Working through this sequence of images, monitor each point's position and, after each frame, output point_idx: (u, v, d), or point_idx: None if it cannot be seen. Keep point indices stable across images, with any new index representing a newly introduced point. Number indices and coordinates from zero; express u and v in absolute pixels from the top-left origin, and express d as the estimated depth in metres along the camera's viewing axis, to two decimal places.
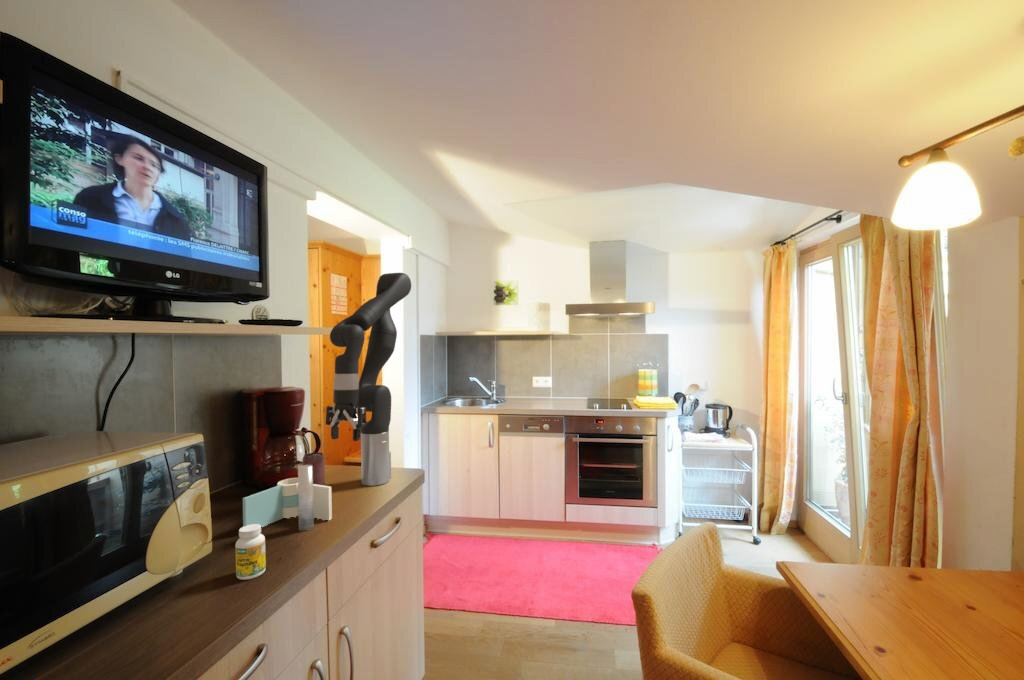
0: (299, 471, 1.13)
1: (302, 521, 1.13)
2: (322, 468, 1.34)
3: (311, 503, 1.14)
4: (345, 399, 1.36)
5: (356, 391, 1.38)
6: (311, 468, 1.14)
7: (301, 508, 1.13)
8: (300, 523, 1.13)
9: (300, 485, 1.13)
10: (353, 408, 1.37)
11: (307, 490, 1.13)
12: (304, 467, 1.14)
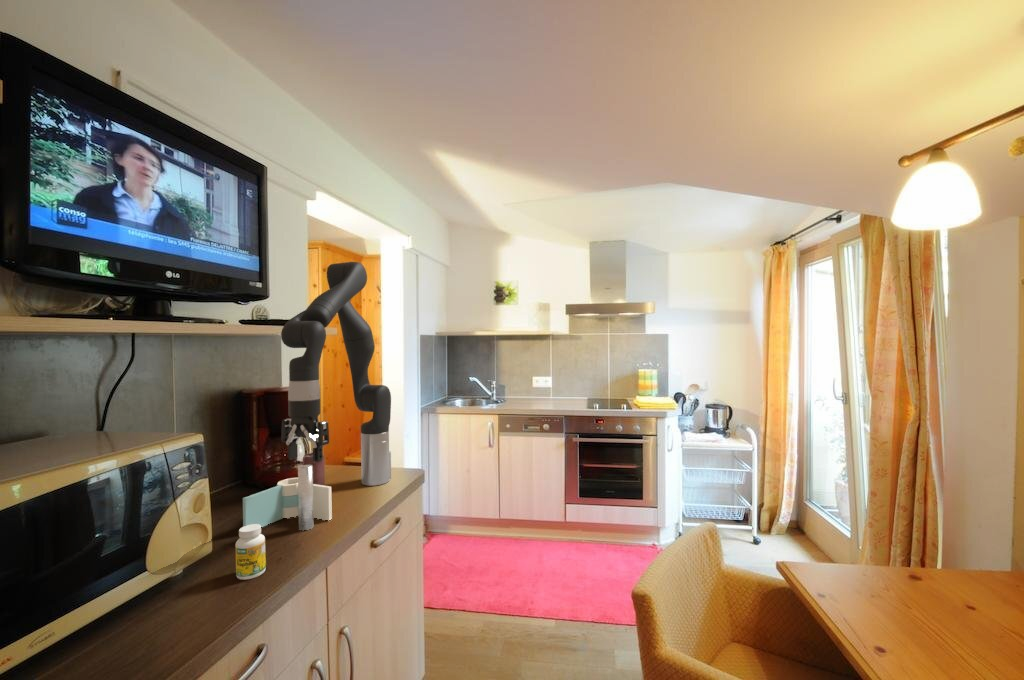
0: (299, 471, 1.13)
1: (302, 521, 1.13)
2: (322, 468, 1.34)
3: (311, 503, 1.14)
4: (301, 412, 1.11)
5: (316, 402, 1.14)
6: (311, 468, 1.14)
7: (301, 508, 1.13)
8: (300, 523, 1.13)
9: (300, 485, 1.13)
10: (312, 422, 1.12)
11: (307, 490, 1.13)
12: (304, 467, 1.14)
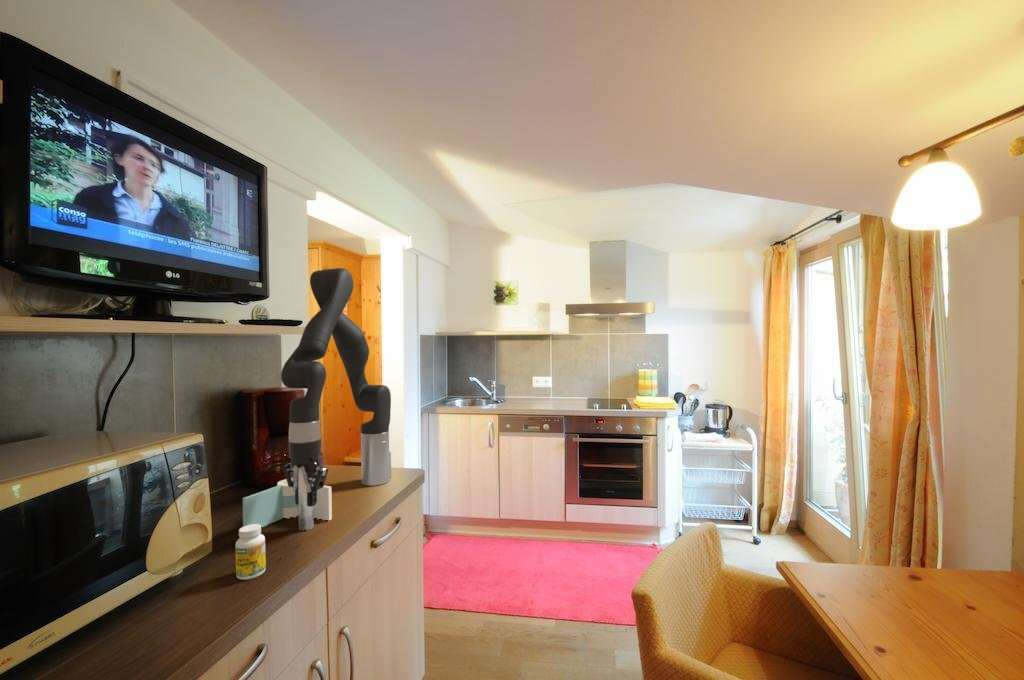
0: (299, 471, 1.13)
1: (302, 521, 1.13)
2: None
3: None
4: (302, 454, 1.11)
5: (316, 442, 1.14)
6: None
7: (301, 508, 1.13)
8: (300, 523, 1.13)
9: (300, 485, 1.13)
10: (313, 464, 1.12)
11: None
12: None
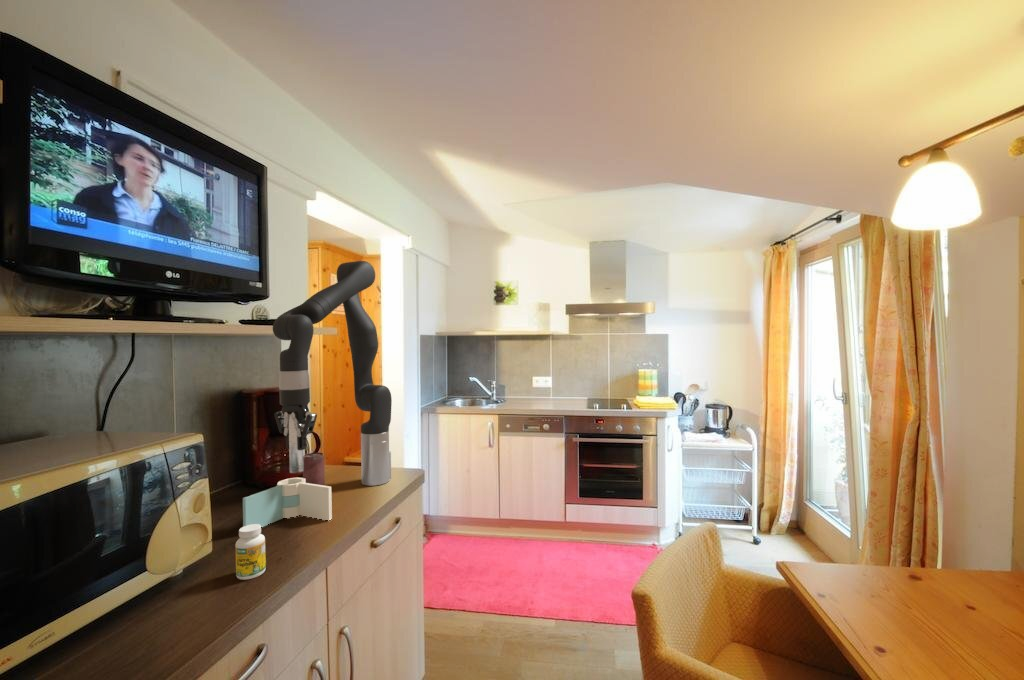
0: (289, 417, 1.21)
1: (293, 463, 1.21)
2: (322, 468, 1.34)
3: None
4: (292, 400, 1.19)
5: (306, 390, 1.21)
6: None
7: (292, 452, 1.20)
8: (291, 466, 1.21)
9: (290, 430, 1.20)
10: (303, 410, 1.20)
11: (297, 435, 1.21)
12: None
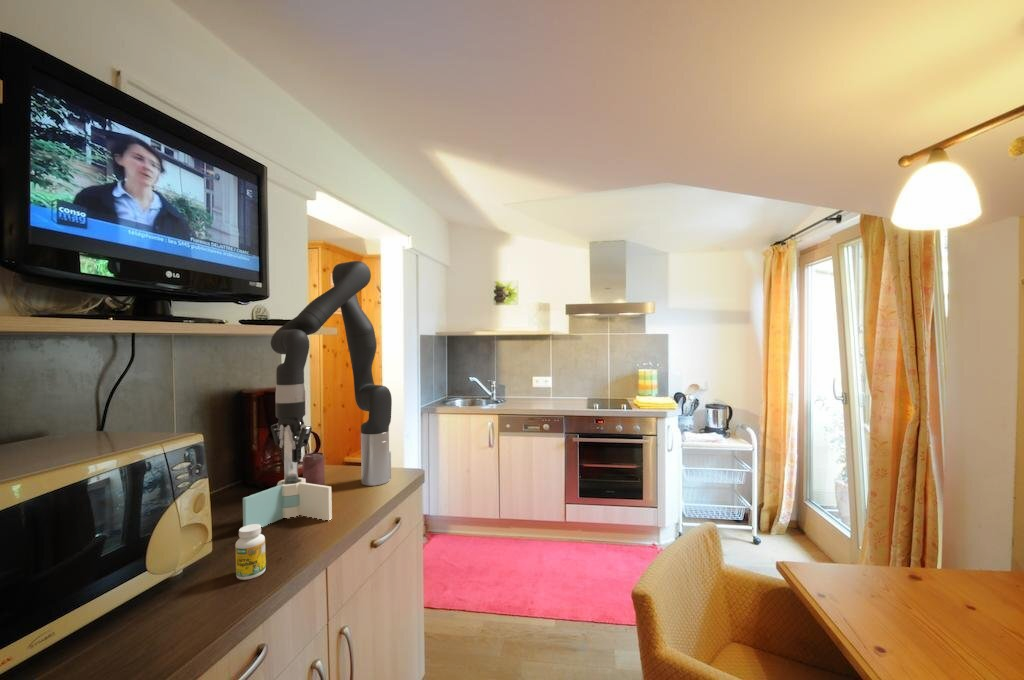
0: (285, 430, 1.23)
1: (287, 475, 1.23)
2: (322, 468, 1.34)
3: None
4: (287, 413, 1.21)
5: (301, 404, 1.24)
6: None
7: (287, 464, 1.23)
8: (285, 477, 1.23)
9: (286, 442, 1.23)
10: (298, 423, 1.22)
11: None
12: None
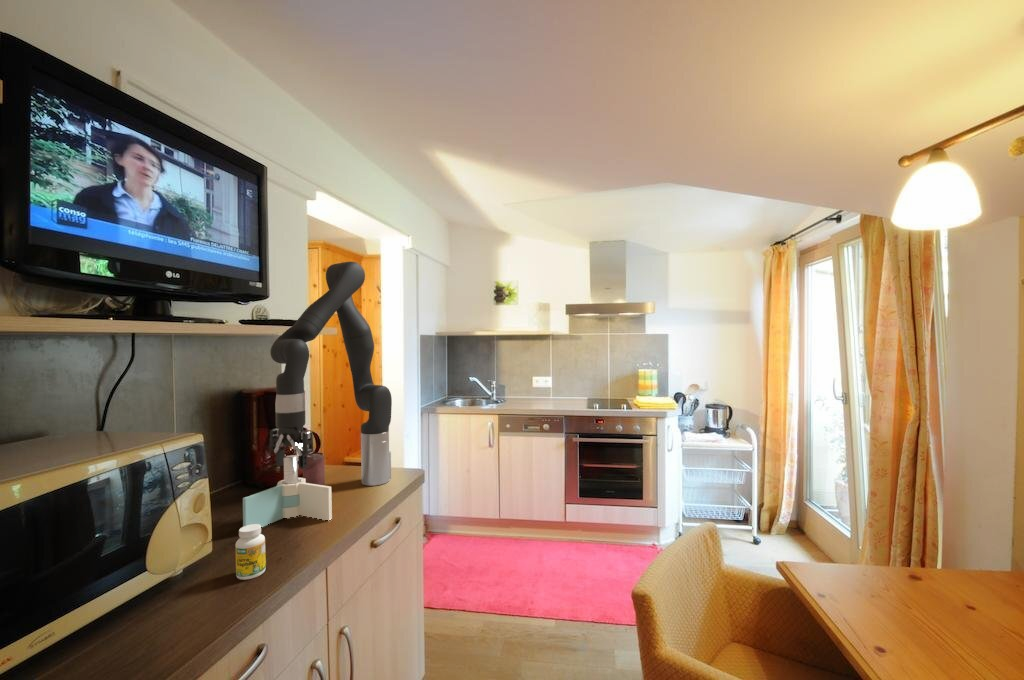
0: (284, 461, 1.23)
1: None
2: (322, 468, 1.34)
3: None
4: (287, 423, 1.21)
5: (301, 413, 1.24)
6: (295, 458, 1.24)
7: None
8: None
9: (285, 473, 1.23)
10: (298, 432, 1.22)
11: (292, 478, 1.23)
12: (289, 457, 1.24)
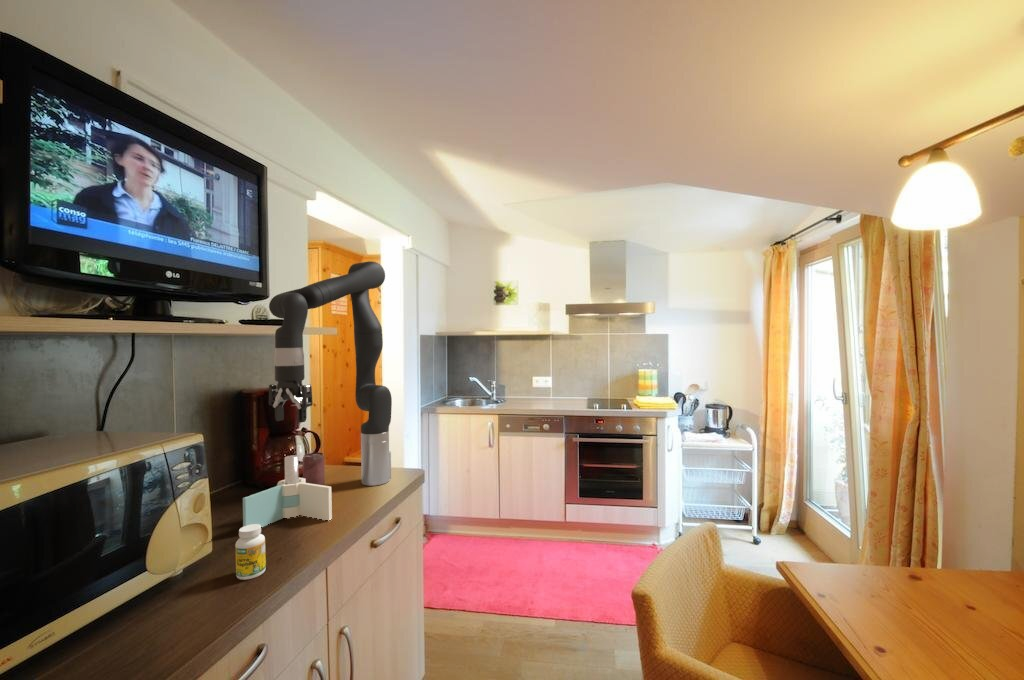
0: (285, 461, 1.23)
1: None
2: (322, 468, 1.34)
3: None
4: (286, 376, 1.21)
5: (300, 367, 1.24)
6: (297, 458, 1.24)
7: None
8: None
9: (286, 474, 1.23)
10: (297, 386, 1.22)
11: (292, 479, 1.23)
12: (290, 457, 1.24)
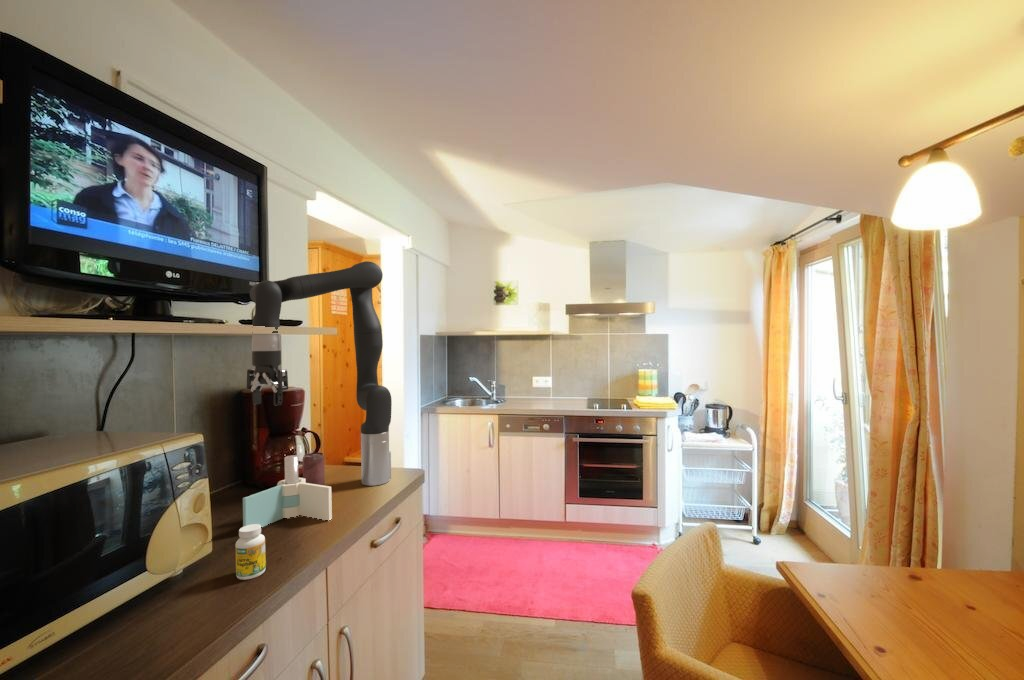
0: (285, 461, 1.23)
1: None
2: (322, 468, 1.34)
3: None
4: (263, 361, 1.26)
5: (276, 352, 1.29)
6: (297, 458, 1.24)
7: None
8: None
9: (286, 474, 1.23)
10: (273, 370, 1.27)
11: (292, 478, 1.23)
12: (290, 457, 1.24)
